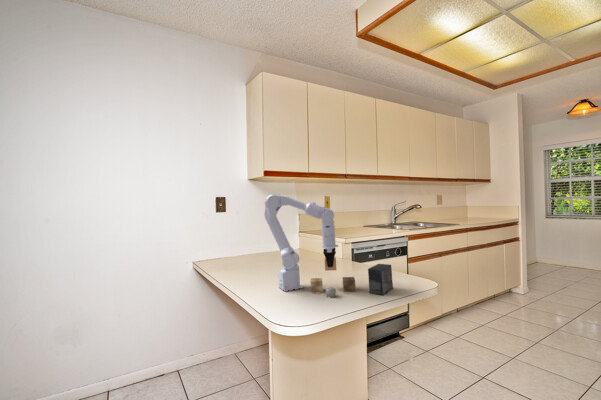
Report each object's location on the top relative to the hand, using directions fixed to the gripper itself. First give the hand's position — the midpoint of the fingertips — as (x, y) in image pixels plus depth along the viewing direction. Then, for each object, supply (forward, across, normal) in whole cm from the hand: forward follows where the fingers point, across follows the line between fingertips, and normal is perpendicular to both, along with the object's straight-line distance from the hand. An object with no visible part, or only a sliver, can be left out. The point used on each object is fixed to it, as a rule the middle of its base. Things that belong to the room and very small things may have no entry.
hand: (330, 265), depth 133 cm
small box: (+10, -7, -21) cm, 24 cm away
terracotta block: (+2, 0, 0) cm, 2 cm away
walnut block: (+10, -4, -8) cm, 13 cm away
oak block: (+10, -4, +6) cm, 13 cm away
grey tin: (+10, -12, 0) cm, 15 cm away
